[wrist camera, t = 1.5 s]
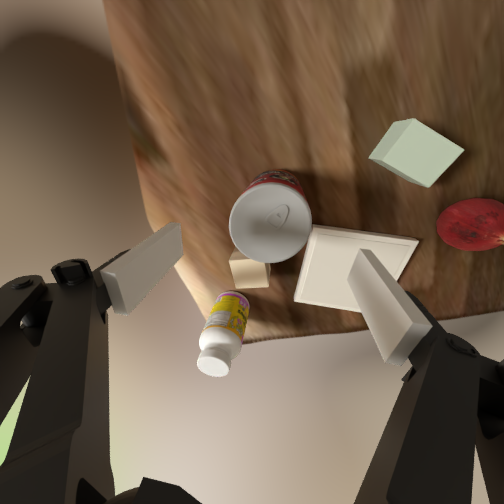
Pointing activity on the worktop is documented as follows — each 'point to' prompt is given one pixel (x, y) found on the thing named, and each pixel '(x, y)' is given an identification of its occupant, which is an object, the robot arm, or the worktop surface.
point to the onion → (472, 224)
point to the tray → (345, 263)
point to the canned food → (271, 218)
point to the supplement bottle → (223, 334)
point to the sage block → (415, 152)
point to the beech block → (248, 271)
